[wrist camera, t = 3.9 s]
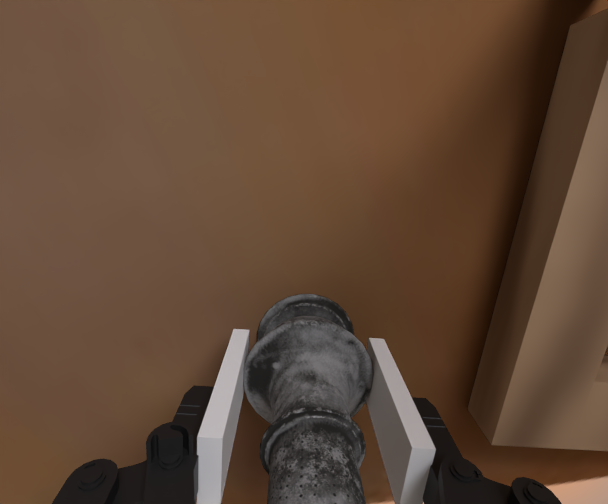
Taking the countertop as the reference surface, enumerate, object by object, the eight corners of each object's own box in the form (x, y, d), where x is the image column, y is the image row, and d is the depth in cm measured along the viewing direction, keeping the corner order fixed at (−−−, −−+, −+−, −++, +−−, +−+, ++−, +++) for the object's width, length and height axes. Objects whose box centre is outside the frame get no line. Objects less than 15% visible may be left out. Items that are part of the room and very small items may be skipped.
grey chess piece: (372, 364, 19) (486, 674, 8) (275, 397, 20) (250, 735, 8) (339, 273, 18) (420, 496, 6) (234, 310, 18) (133, 583, 7)
